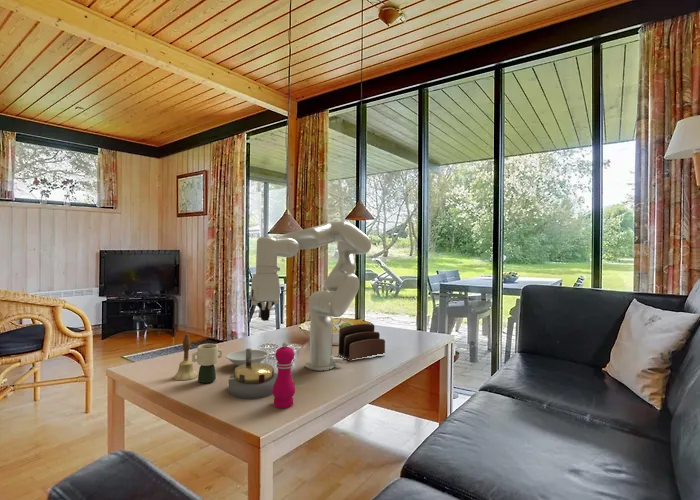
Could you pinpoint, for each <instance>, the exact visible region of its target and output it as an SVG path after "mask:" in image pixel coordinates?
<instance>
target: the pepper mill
mask: <svg viewBox="0 0 700 500" xmlns="http://www.w3.org/2000/svg"><path fill="white" fill-rule="evenodd" d="M281 345H282V346H281V347H280V346H279V348H278V349H276V351H275V356H274V357H275V360H276V361H277V362H276V368H277V374H278V375H277V379H276V381H275V383H274V386H273V390H272V393H273V394H272V395H273V397H274V398H273V406H274V407H275V408H278V409H288V408H290V407H292V406H294V398H293V397H294V396H295V393H296V387H295V382H294V380H293V377H292V368H293V359H295V352H294V349H293V348H292V347H290V346H288V345H289V344H288V342H286V341H284V342H282V344H281Z"/></svg>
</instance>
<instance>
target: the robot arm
mask: <svg viewBox="0 0 700 500" xmlns="http://www.w3.org/2000/svg"><path fill="white" fill-rule="evenodd" d="M336 242H337V245H336V247H337V251H338V260H337V262H336V264H335V266H334V267H333V268H332V270H331V271H330V273H329V274H328V276H327V277H326V279H325V281H324V288H325V289H326V290H317V291H315V292H313V293H312V294H311V295H310V296H309V298H308V310H309V311H308V312H309V321H310V323H309V327H310V328H309V357H308V358H309V359H308V360H307V361H306V362H305V365H304V366H305V367H306V369H308V370H312V371H317V372H319V371H320V372H321V371H323V370H324V371H330V370H332V368H333V369H335V368H336V363H340V364H341V363H344V358H342V357H340V356H334V355H333V338H334V337H333V333H334V322H333V318H340V317H342V316H343V315H344V314H345V313H346V312H347V310H348V308H349V307H350V305H351V304H352V303H353V300H354V299H355V298H356V296H357V295H358V292H359V289H360V280H359V277H358V276H357V275H356V274H355V271H356V267H357V265H356V264H357V263H356V260H355V259H356V258H355V255H366V254H368V253H369V252H370V250H371V248H372V242H371V239H370V238H369V236H368V235H367V234H365V233H364V232H363V231H362V230H361V229H359V228H358V227H357V226H355V225H354V224H353V223H350V222H349V221H342V220H341V221H330V222H326V223H323V224H319V225H316V226H313V227H308V228H304V229H300V230H297V231H291V232H287V233H283V234H280V235H277V236H274V237H269V236H268V237H267V236H264V237H263V236H260V237H258V238H257V240H256V253H255V255H256V256H255V257H256V259H255V261H256V263H255V273H254V274H253V275H252V278H251V285H250V293H249V294H250V300H251V301H250V305H251V306H257V308H258V309H259V310H260V314H259V315H260V317H259V318H260V320H261V321H263V322H266V321H267V322H269V319H270V315H271V314H270V313H271V309H272V307H274V305H278V304H279V303H280V298H281V290H280V289H281V288H280V287H281V285H280V284H281V283H280V277H279V274H278V272H280V271H281V269H280V267H278V266H277V265H278V258H279V257H281V258H292V257H294V256H296V255H297V254H298V252H299V250H311V249H312V250H313V249H317V248H320V247H323V246H326V245H329V244H333V243H336ZM334 367H335V368H334ZM329 369H330V370H329Z"/></svg>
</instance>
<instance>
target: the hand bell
mask: <svg viewBox="0 0 700 500" xmlns="http://www.w3.org/2000/svg"><path fill="white" fill-rule="evenodd" d="M182 340H183V341H182V348H183V360H182V361H180V363H179V367H178V369H177V372H176V373H175V375H173V379H174V380H176V381H189V380H190V381H191V380H193V379H195V378H198V373H197V372H196V371H195V369H194V367H193V362H192V360H191V361H190V360H189V354H190V353H189V351H190V347H191V339H190V335H189V334H188V333H186V334H184V338H183V339H182Z"/></svg>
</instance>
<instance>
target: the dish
mask: <svg viewBox="0 0 700 500" xmlns="http://www.w3.org/2000/svg"><path fill="white" fill-rule="evenodd" d="M264 355H266V356H264ZM269 355H270V352H269V351H267V350H264V349H252V358H251V363H263V361H264V360H265V359H266V358H267V357H269ZM225 358H226V359H227V360H229V361H230V363H232V364H234V365H235V366H237V367H238V366H240V365H243V364H246V349H244V350H237V351H231V352H230V353H227V354H226V355H225Z"/></svg>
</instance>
